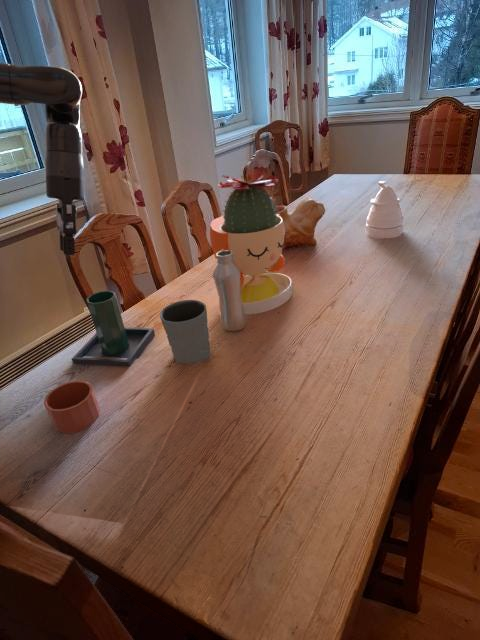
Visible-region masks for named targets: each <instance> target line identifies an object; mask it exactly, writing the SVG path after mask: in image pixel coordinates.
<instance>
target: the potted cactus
mask: <svg viewBox="0 0 480 640" xmlns="http://www.w3.org/2000/svg"><path fill="white" fill-rule="evenodd" d="M264 171H265V167H264V166H262V165H261V166H260V167H258V168H256V167H255V168H253V169H251V170H250V171H248V172H246V174H245V175H244V174H242V175H240V177H233V178H232V177H230V176H228V175H221V177H222V178H225V179H227V180H226V182H225V183H224V182H223V181H219V183H218V184H217V186H218V187H219V188H221V189H225V188H226V189H227V188H228V189H229V188H230V189H232V190H229V194H226V196H227V197H226V196H225V197H226V198H227V200H224V202H225V204H223V205H222V207H223V208H224V209H223V208H222V210H221V212H223V215H220V216H219V217H216V218H214V219H212V221H211V222H210V225H209V241H210V245H211V249H212V252H213V255H214V258H215V260H216V261H217V256H216V254H217V253H218V252H220V251H232V255H233V261H232V262H233V263H234V264H235V265H236V266H237V267H238V268H239V270H240V273H241V283H240V289H241V300H242V304H243V309H244V311H245V314H246V315H255V314H261V313H266V312H268V311H272V310H274V309H277V308H278V307H280V306H283V305H284V304H285V303H287V302H288V301H289V300H290V299H291V297H292V295H293V283H292V282H293V281H292V279H291V277H290V276H288V275H287V274H285V273H280V272H279V271H282V270H283V268H284V267H285V265H286V260H285V257H284V256H283V255H282V253H283V251H284V250H283V246H284V242H285V229H284V224H283V220H282V218H281V216H280V214H276V212H278V211H276V209H277V208H275V207H276V206H277V205H276V204H275V202H274V201H275V197H273V196H272V195H273V194H274V193H271V195H270V190H268V188H269V187H271V188H272V187H274V186H275V185H276V184H277V183H279V179H278V178H277V177H276V176H275V175H272V174H271V175H269V176H267V177H266V178H264V174H263V173H264ZM263 178H264V179H263Z"/></svg>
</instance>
